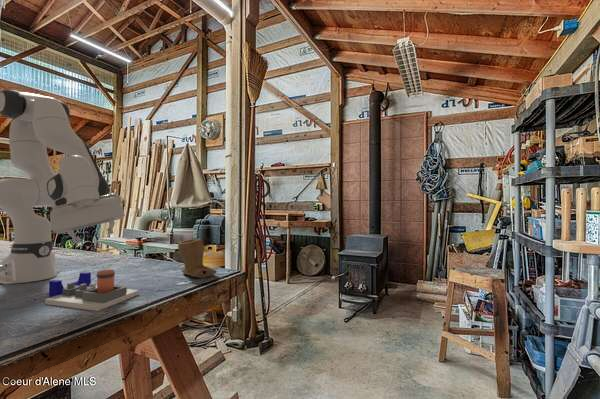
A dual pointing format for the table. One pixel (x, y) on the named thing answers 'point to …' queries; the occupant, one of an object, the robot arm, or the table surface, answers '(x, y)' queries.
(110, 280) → the lockout cap
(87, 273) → the blue u-shaped piece
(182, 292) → the table surface
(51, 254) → the robot arm
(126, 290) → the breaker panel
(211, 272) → the brown boot
